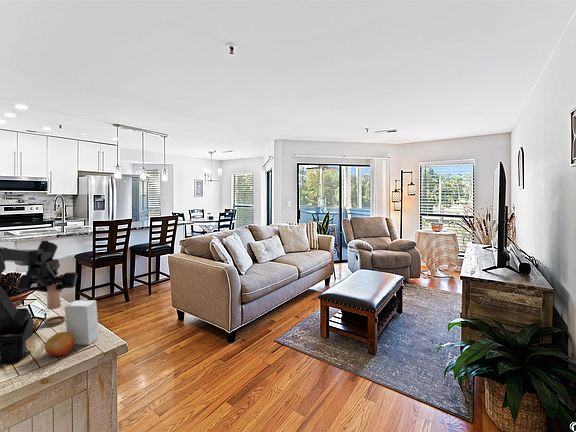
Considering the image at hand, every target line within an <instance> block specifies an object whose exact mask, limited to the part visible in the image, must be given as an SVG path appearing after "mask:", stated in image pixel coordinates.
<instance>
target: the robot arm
mask: <svg viewBox="0 0 576 432" xmlns="http://www.w3.org/2000/svg"><path fill="white" fill-rule="evenodd" d="M57 250H58V245H57V244H56V243H53V242H51V241H50V242H49V240H41V242H40V243H39V245H38V247H37V248H36V249H16V248H15V249H13V248H8V247H4V246H3V247H2V246H0V279H1V278H2V274H3V273H4V271H5V270H6V264H5V262H11V263H14V265H17V266H20V267H25V266H27V270H26V274H22V275H21V276H20V277H19V278H18V281H17V284H16V290H18V291H19V292H23V291H24V292H25V291H31V292H32V291H33V292H41V293H46V294H47V286H53V284H57V288H56V289H57V290H58V291H60V293H63V290H65V289H72V288H75V287H76V283H77V281H78V273H77V272H74V271H73V272H71V271H70V272H65V273H64V274H60V275H59V271H58V270H59V269H60V268H61V265H60V261H59V259H57V258H56V259H54V257H55V255H56V252H57ZM56 275H58V276H56ZM34 322H35V321H34V318H33V317H32V313H31V312H30V310H29V309H28V308H26V307H24V308H17V307H16V305H15V304H14V303H13V301H12V300H11V298H10V297H9V295H8V294H7V292H6V291H5V290H4V289H3V287H2V285H1V284H0V365H5V364H6V365H10V364H11V365H12V364H17V363H19V362H20V361H22V360H23V359H25V358H26V357H27V356H29V355H30V354H32V353H31V352H32V351H30V350H29V351H27V344H26V343H27V340H29V339H30V338H31V337H32V336H33V330H34V325H35V324H34Z"/></svg>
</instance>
